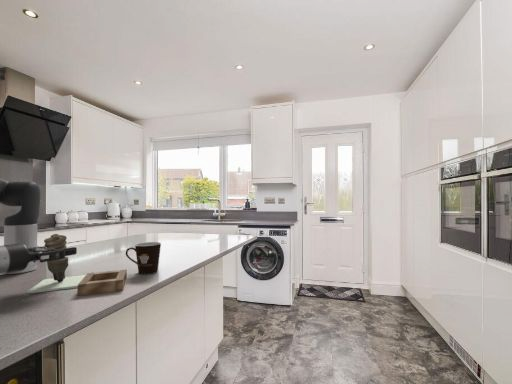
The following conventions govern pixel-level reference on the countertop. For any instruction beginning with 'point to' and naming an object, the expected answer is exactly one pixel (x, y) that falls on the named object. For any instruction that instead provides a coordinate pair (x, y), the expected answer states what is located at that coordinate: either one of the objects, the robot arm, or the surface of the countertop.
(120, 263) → the countertop surface
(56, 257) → the robot arm
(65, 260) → the light bulb
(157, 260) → the coffee mug
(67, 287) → the mat
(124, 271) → the brown wooden square frame
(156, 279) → the countertop surface
